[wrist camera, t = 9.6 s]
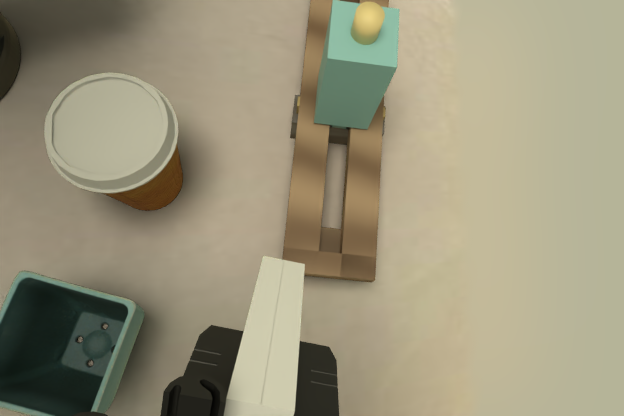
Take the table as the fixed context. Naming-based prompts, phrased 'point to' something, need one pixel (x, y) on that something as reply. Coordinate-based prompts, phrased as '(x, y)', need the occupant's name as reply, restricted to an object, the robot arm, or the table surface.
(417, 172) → the table surface
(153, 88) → the disposable coffee cup
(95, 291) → the flower pot
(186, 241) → the table surface
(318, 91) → the block
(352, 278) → the brown flat slatted piece
